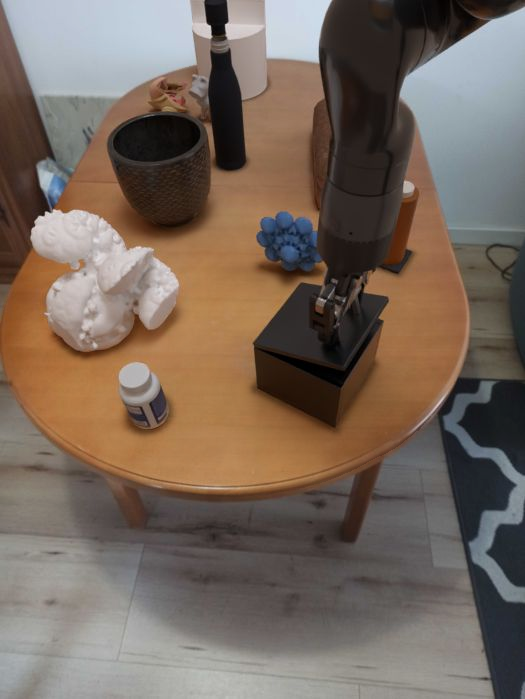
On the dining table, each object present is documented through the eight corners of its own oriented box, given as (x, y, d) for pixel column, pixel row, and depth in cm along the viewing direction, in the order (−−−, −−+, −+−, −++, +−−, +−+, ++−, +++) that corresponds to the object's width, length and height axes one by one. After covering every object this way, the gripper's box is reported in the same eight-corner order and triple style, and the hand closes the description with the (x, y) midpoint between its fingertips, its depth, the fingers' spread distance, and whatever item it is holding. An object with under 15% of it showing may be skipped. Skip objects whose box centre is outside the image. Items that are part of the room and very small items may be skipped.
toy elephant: (191, 124, 119) (159, 104, 112) (165, 134, 126) (133, 116, 119) (197, 87, 120) (165, 65, 113) (170, 99, 127) (138, 79, 119)
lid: (389, 301, 64) (383, 264, 60) (344, 371, 58) (335, 335, 54) (302, 286, 72) (292, 252, 68) (254, 347, 65) (240, 314, 61)
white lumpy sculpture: (-16, 308, 72) (51, 186, 72) (75, 332, 91) (129, 236, 90) (75, 373, 66) (150, 240, 65) (153, 385, 85) (211, 282, 84)
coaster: (411, 253, 89) (412, 251, 89) (398, 274, 86) (398, 271, 86) (380, 242, 91) (380, 239, 91) (365, 262, 88) (366, 259, 88)
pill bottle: (162, 391, 73) (148, 351, 66) (174, 420, 70) (160, 382, 63) (126, 406, 72) (107, 366, 64) (137, 436, 69) (118, 398, 61)
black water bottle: (246, 169, 106) (234, 6, 82) (215, 171, 106) (195, 8, 83) (246, 152, 110) (234, -8, 86) (216, 154, 110) (197, -6, 87)
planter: (176, 255, 91) (158, 177, 78) (110, 221, 98) (84, 144, 85) (235, 206, 99) (228, 128, 86) (171, 177, 106) (155, 101, 93)
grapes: (253, 284, 86) (249, 227, 76) (260, 257, 90) (257, 200, 80) (321, 290, 84) (326, 234, 75) (326, 263, 88) (330, 206, 79)
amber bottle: (408, 251, 89) (425, 182, 77) (396, 269, 86) (413, 200, 75) (381, 242, 90) (395, 173, 79) (369, 259, 88) (381, 190, 77)
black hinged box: (374, 363, 75) (384, 320, 67) (335, 428, 69) (341, 389, 61) (300, 330, 79) (301, 286, 72) (257, 388, 73) (253, 347, 65)
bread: (313, 213, 97) (316, 159, 88) (310, 131, 114) (312, 79, 105) (403, 213, 96) (415, 158, 87) (386, 129, 114) (395, 77, 104)
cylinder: (208, 67, 136) (193, -64, 113) (272, 70, 133) (269, -63, 111) (192, 99, 125) (172, -38, 103) (261, 103, 123) (255, -37, 101)
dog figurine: (188, 125, 118) (180, 78, 110) (222, 102, 124) (217, 55, 116) (205, 132, 116) (198, 84, 108) (239, 107, 122) (235, 61, 114)
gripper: (361, 273, 44) (340, 377, 58) (422, 186, 51) (391, 297, 65) (287, 242, 47) (283, 350, 60) (355, 163, 54) (338, 275, 67)
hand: (339, 322), depth 62 cm, fingers closed on lid, 6 cm apart
